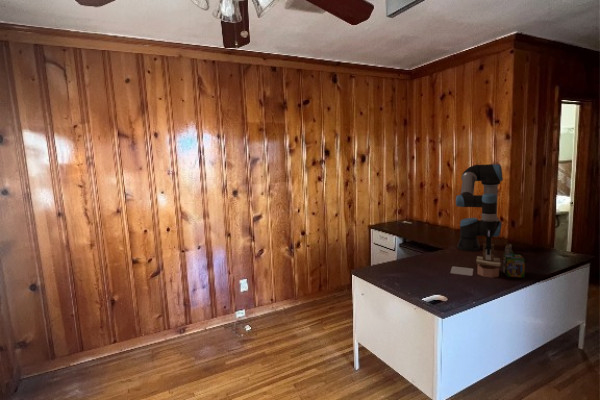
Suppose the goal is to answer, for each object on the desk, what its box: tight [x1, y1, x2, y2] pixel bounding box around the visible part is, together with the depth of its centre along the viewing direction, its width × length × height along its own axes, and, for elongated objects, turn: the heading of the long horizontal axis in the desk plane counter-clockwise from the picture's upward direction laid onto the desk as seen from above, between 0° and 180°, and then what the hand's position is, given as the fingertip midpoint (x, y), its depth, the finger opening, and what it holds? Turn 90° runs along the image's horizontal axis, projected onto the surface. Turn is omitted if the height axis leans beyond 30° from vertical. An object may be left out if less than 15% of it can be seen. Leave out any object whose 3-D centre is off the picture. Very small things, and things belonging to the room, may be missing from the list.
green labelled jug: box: [502, 249, 526, 279], centre depth 187 cm, size 9×9×15 cm
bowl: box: [477, 264, 500, 278], centre depth 190 cm, size 11×11×5 cm
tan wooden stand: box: [475, 243, 501, 267], centre depth 189 cm, size 12×12×11 cm
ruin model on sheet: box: [504, 243, 513, 254], centre depth 220 cm, size 11×3×10 cm, turn 140°
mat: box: [449, 266, 474, 277], centre depth 198 cm, size 13×12×1 cm
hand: (488, 258), depth 189 cm, fingers closed on tan wooden stand, 3 cm apart
